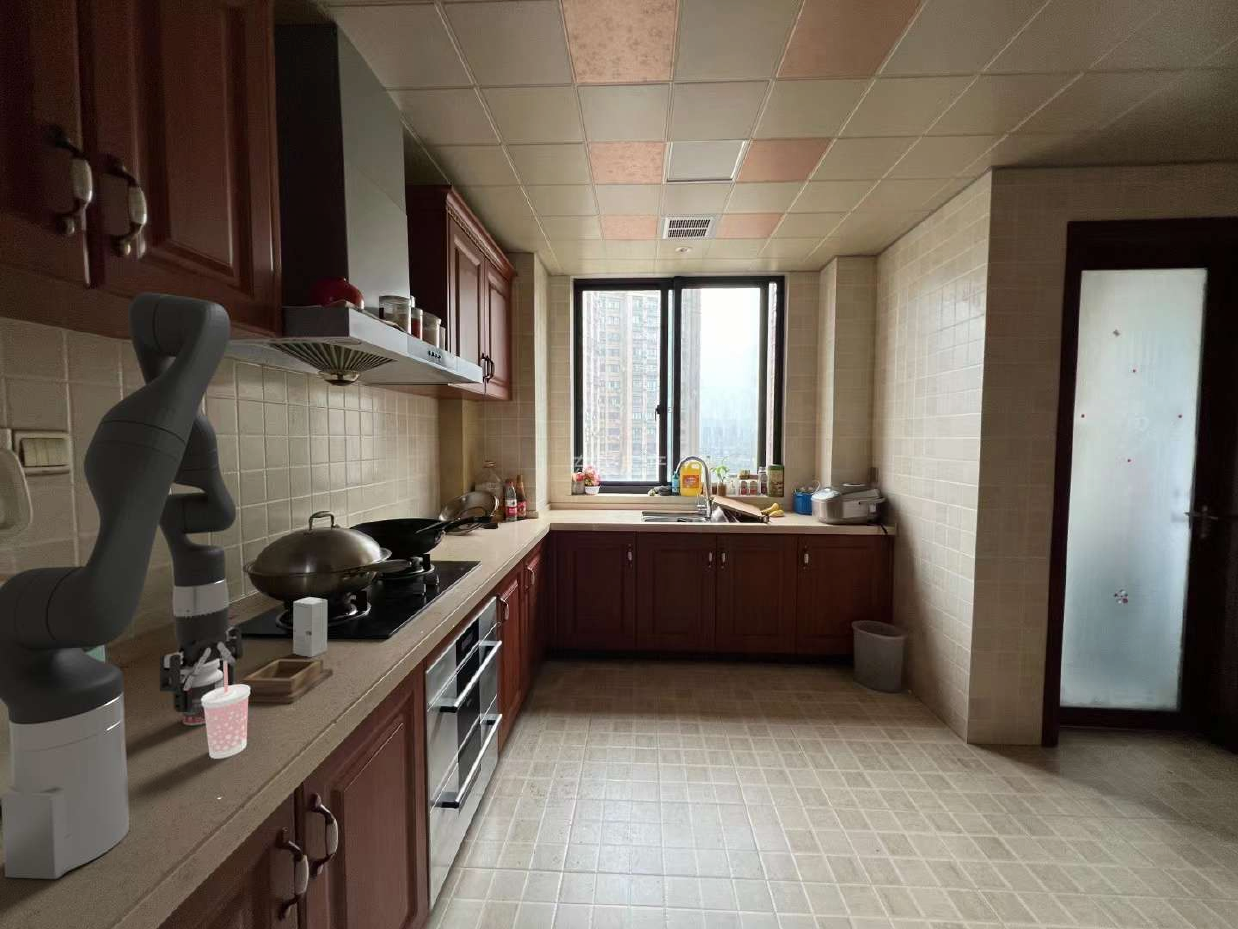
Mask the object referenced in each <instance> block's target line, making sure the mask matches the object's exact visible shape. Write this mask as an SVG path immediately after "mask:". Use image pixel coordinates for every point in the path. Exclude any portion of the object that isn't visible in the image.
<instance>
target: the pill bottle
mask: <svg viewBox="0 0 1238 929" xmlns="http://www.w3.org/2000/svg"><path fill="white" fill-rule="evenodd" d="M219 665H220V663H219V658H217V659H215V660H212V661H210V662H208V663H206V664H204V665H203V666H202V669H201V671H200V673H199V675H198V676H196V677H195V678H194V680H193V682H192V684H191V686H190V688H189V689H191V702H192V709H191V710H190V711H188V712H181V713H182V723H183V724H184V725H185V726H200V725H204V724H205V725H206V721H205V712H204V707H203V706H202V702H201V699H202V697H203V696H204V695H205V694H207V693H208V692H210V691H213V690H215V689H218V688H221V687H224V685H223V673H222V671H220V670H218V668H219V667H220V666H219ZM192 668H193V667H188V666H186V668H185V670H191V669H192ZM185 678H186V676H185V677H183V679H182V682H181V683H184V680H185Z"/></svg>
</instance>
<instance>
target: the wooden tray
mask: <svg viewBox="0 0 1238 929" xmlns="http://www.w3.org/2000/svg"><path fill="white" fill-rule="evenodd" d="M333 670H334V669H332V668H331V669H330V668H329V669H327V668H326V669H325V668H324V659H303V658H302V659H301V658H299V659H298V658H296V659H294V658H293V659H292V658H289V659H288V658H277V659H276V660H275V661H272V662H271V663H268V664H267V665H265V666H264V667H261V668H260V669H259V670H257V671H254V672H253V673H251V674H250V675H248V676H246V677H244V678H243V679H242V680H241V684H244V685H248V686H249V687H250V694H249V696H248V703H249V702H250V703H251V702H254V703H255V702H256V703H257V702H258V703H295V702H296V701H298V700H300V699H301V698H302V697H303V696H305V695H306V694H307V693H309V692H310V691H311V690H313V689H314V688H316V687H317V686H318V685H321V683H323V682H324V681H325V680H327V679H328V678H330V677H331V676H332V675H333V674H334V673H333Z"/></svg>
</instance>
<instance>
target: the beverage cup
mask: <svg viewBox="0 0 1238 929" xmlns="http://www.w3.org/2000/svg"><path fill="white" fill-rule="evenodd" d="M223 669H224V687H221V688H218V689H215V690H213V691H210V692H208V693H207V694H205V695H204V696H203V697H202V699H201V702H202V706H203V707H204V712H205V721H206V723H205V727H206V735H207V736H206V737H207V744H208V754H209V757H210V758H211V759H223V758H228V757H231V756H234V755H236V754H238V753H240V752H243V750H244V749H246V747H247V736H248V714H249V713H248V711H249V702H248V696H249V694H250V687H249V686H248V685H244V684H242V683H241V684H233V685H230V686H228V674H227V661H223Z"/></svg>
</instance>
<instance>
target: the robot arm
mask: <svg viewBox="0 0 1238 929" xmlns="http://www.w3.org/2000/svg"><path fill="white" fill-rule="evenodd" d="M127 320H128V321H127V322H128V328H129V333H130V334H129V335H130V339H131V343H132V346H133V349H134V352H135V356H136V358H137V361H138V365H139V368H140V371H141V374H142V378H143V381H144V384H145V385H143V386H142V387H140V388H138V389H137V390H136V391H134V392H132V393H130V394H129V395H127V396H126V397H124V398H122V400H120V401H118V402H117V403H116V404H115V405H114V406H112V407H111V408H110V409H109V410H108V411H107V412H106V413H105V414H104V415H103V417H102V418H101V419H100V421H99V423H98V425H97V427H96V430H95V432H94V434H93V436H92V439H91V441H90V442H89V446H88V447H87V450H86V453H85V456H84V460H83V469H84V470H83V472H84V477H85V479H86V482H87V486H88V488H89V490H90V492H91V496H92V498H93V500H94V502H95V505H96V508H97V510H98V515H99V530H98V533H97V537H96V540H95V543H94V546H93V549H92V551H91V554H90V556H89V558H88V560H87V562H86V564H85V565H83V566H82V565H80V566H78V565H77V566H53V567H52V566H51V567H37V568H32V569H27V570H23V571H20V572H18V573H17V574H14V575H13V576H11V577H9V579H7V580H6V581H5V582H4V583H3V584H2V585H1V586H0V699H1V701H2V702H3V703H4V704H5V706H6V707H7V712H8V721H9V722H8V723H9V724H8V725H9V739H10V746H9V747H10V762H11V763H10V764H11V765H10V766H11V767H10V769H11V787H10V788H8V789H6V790H5V791H3V792H2V794H1V797H0V799H1V819H2V820H1V821H2V835H3V836H2V837H3V838H2V839H3V858H4V875H5V876H4V877H6V878H19V879H21V878H22V879H38V880H39V879H41V880H42V879H43V880H56V879H58V878H60V877H62V876H63V875H65V874H66V873H67V872H69V871H71V870H73V869H76V868H78V867H80V866H82V865H85V864H87V863H89V862H91V861H92V860H95V859H96V858H98V857H100V856H102V855H103V854H105V853H107V852H108V851H110V850H111V849H112V848H114V847H116V845H117V844H119V843H120V842H121V841H123V839H124V838H125V836H126V835H127V834H128V832H129V830H130V813H129V792H128V790H129V789H128V788H129V786H128V769H127V768H128V767H127V766H128V765H127V747H126V746H127V744H126V743H127V742H126V723H125V722H126V719H125V695H124V694H125V692H124V676H123V672H122V670H121V669H120V668H119V667H118V666H116V665H113V664H111V663H108V662H106V661H105V662H104V661H103V660H102V661H101V660H99V659H97V658H95V657H93V656H91V655H89V654H88V653H86V652H85V651H84V650H83V649H84V648H94V647H101V646H105V645H108V644H110V643H113V642H114V641H115V640H117V639H118V638H120V637H121V636H122V635H123V634H124V633H125V632H126V631H127V629H128V627H129V626H130V624H131V623H132V621H133V619H134V616H135V615H136V613H137V610H138V607H139V605H140V602H141V598H142V595H143V592H144V585H145V583H146V578H147V574H148V569H149V565H150V560H151V555H152V550H153V545H154V542H155V539H156V538H155V537H156V534H157V530H158V527H159V528H160V530H161V532H162V534H163V537H164V538H165V541H166V543H167V546H168V549H169V552H170V556H171V559H172V572H173V595H172V610H173V612H172V613H173V614H172V615H173V616H172V617H173V633H174V638H175V640H177V642H178V643H179V645H178V650H177V651H176V652H173V653H171V654H169V653H168V654H165V653H164V654H162V655H161V656H160V658H159V692H161V693H172V696H173V698H172V699H173V709H174V710H175V711H176V712H177V713H182V712H188V711H190V710H191V709H192V702H191V689H189V688H190V686H191V684H192V682H193V680H194V678H195V677H196V676H198V675H199V673H200V671H201V669H202V666H203V665H204V664H206V663H208V662H210V661H212V660H215V659H217V658H219V663H220V665H219V667H218V670H220V671H222V673H223V685H224V669H223V661H227V674H228V686H230V685H234V684H233V682H234V666H235V665H236V661H237V660H238V659H242V658H243V656H244V652H243V651H244V650H243V640H242V629H241V627H238V626H236V627H235V626H230V625H231V624H230V608H229V607H230V606H229V604H230V602H229V601H230V600H229V588H228V583H227V578H226V574H227V573H226V556H225V555H226V554H225V551H224V550H225V549H223V548H222V547H220V546H217V545H210V544H209V545H208V544H202V543H201V544H200V543H196V542H193V541H192V540H191V539H190V538H189V537H188V536H187V535H193V534H205V533H208V534H209V533H220V532H224V531H226V530H228V529H230V528H231V526H233V524H234V523H235V521H236V517H237V509H236V505H235V503H234V501H233V498H232V496H231V494H230V493H229V490H228V487H227V486H226V484H225V482H224V479H223V477H222V473H221V469H220V461H219V451H218V450H219V449H218V441H217V440H218V439H217V435H216V431H215V429H214V426H213V425H212V423H211V421H210V419H209V418H208V416H207V415H206V414H205V413H204V412H203V410H202V409H201V407H200V406H201V403H202V400H203V398H204V396H205V394H206V391H207V389H208V388H209V386H210V383H211V382H212V379H213V378H214V376H215V373H216V371H217V369H218V367H219V366H220V363H221V361H222V360H223V357H224V355H225V353H226V350H227V348H228V344H229V341H230V333H231V321H230V316H229V314H228V312H227V311H226V309H225V308H224V307H223V306H222V305H221V304H219V303H216V302H213V301H210V300H205V299H201V298H194V297H189V296H187V297H186V296H180V295H172V294H165V293H158V292H157V293H156V292H142V293H140V294H137V296H135V297H134V299H132V301H131V303H130V305H129V308H128V319H127ZM173 484H175V485H180V486H186V487H193V488H196V489H200V490H201V491H203V492H201V491H200V492H182V493H181V492H179V493H171V494H169V493H170V491H171V487H172V485H173ZM233 648H234V649H233ZM186 666H188V667H193V668H192V669H191V670H185V668H186ZM185 677H186V678H185ZM184 678H185V680H184V683H182V681H183V679H184ZM170 679H171V680H170Z"/></svg>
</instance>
